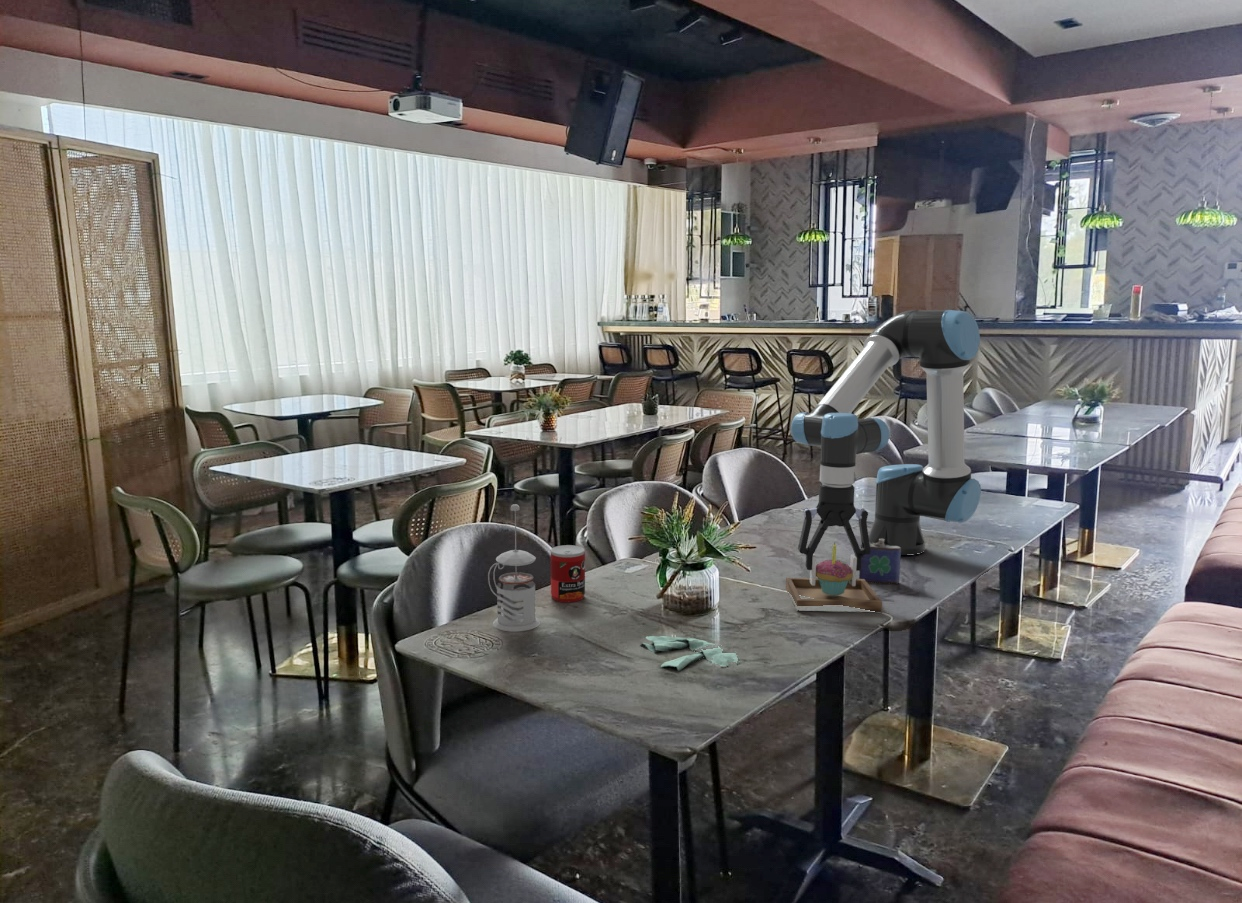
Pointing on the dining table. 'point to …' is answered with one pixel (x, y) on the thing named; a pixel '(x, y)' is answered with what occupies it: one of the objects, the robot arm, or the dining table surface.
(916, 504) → the robot arm
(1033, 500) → the dining table surface
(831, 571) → the cupcake
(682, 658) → the cloth
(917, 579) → the dining table surface
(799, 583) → the tray
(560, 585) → the canned food
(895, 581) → the flask
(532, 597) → the french press
